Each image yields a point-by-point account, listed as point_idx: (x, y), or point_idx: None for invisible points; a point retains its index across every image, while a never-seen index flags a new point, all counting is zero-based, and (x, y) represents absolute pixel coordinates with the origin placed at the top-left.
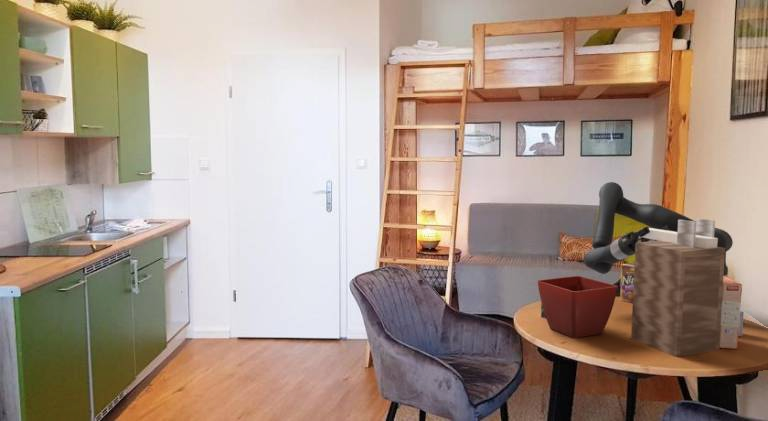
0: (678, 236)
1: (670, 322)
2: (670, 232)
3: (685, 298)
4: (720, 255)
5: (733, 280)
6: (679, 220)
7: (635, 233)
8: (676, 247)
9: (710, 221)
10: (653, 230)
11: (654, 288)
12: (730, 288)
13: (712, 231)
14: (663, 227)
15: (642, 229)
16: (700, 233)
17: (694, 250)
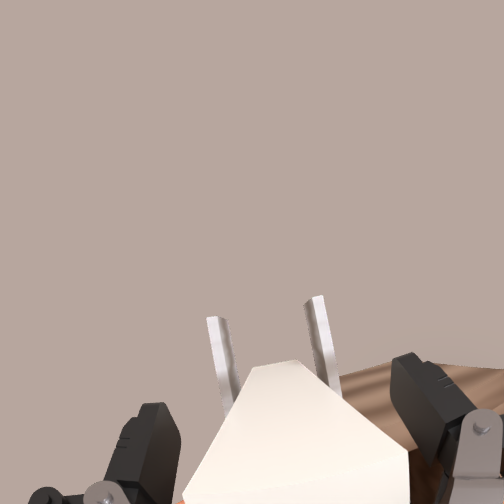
0: (335, 364)
1: None
2: (295, 385)
3: None
4: None
5: (182, 501)
6: (322, 298)
7: (502, 420)
8: (381, 376)
9: (227, 322)
10: (345, 401)
11: None
12: None
13: (234, 355)
14: (158, 426)
15: (443, 372)
16: (231, 373)
17: (357, 371)
